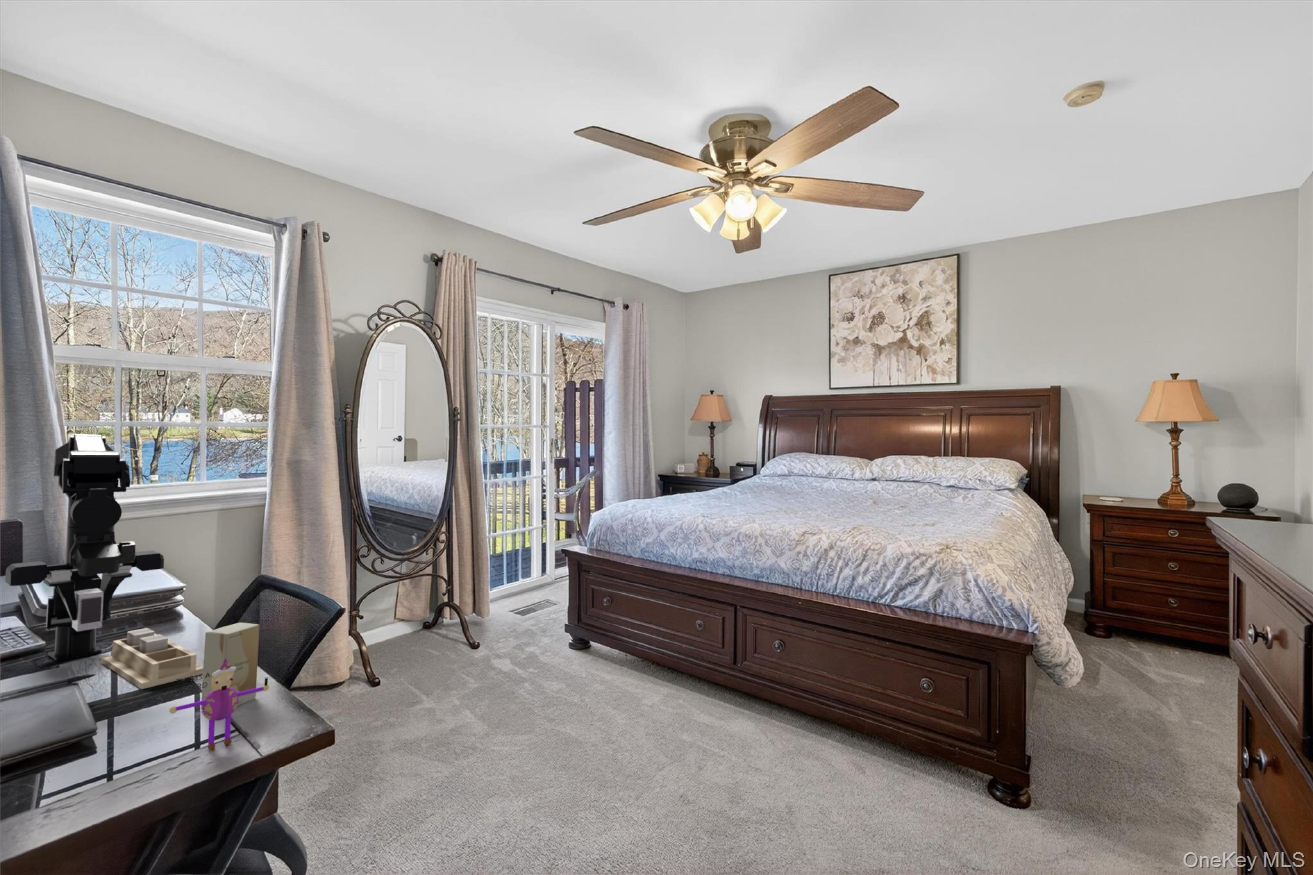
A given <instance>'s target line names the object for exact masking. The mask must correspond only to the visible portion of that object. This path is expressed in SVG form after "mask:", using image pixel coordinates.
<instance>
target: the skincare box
mask: <svg viewBox="0 0 1313 875" xmlns="http://www.w3.org/2000/svg"><path fill="white" fill-rule="evenodd" d="M204 634H205V635H204V648H203V649H204V650H203V654H204V655H203V665H202V666H203V674H202V681H201V684H202V683H203V687H205V686H206V683H207V686H206V687H205V688H202V687H201V700H200V701H203V700H204V699H205V698H206V696H207V695H208V694H209V693H210V692H211V691H213V689H212V687H211V680H212V678H213V677H212V674H213V673H214V672H216V671H217V670H219V669H220V668H221V666H222V664H223V662H224V660H225V658H226V660H227V662H228V663H229V665H230V667H236V670H235V671H234V674H233V676H232V678H233V680H232V681H231V684H230V686H229V687H231V688H233V689H234V690H235V691H236V692H237V693H238V692H243V691H247V690H251V689H255V688H257V682H258V680H257V679H258V659H259V658H258V657H259V642H260V641H259V640H260V638H259V637H260V624H259V623H258V624H257V623H249V622H237V623H233V624H229V625H226V626H222V627H219V628H216V629H211V630H210V631H209V630H208V631H206V632H205V633H204ZM207 673H209V675H210V677H209V676H208V675H207ZM206 675H207V677H206ZM205 677H206V678H205ZM204 682H206V683H204ZM255 697H256V698H257V692H255V693H251V694H247V695H243V696H239V697H238V698H239V700H238V705H237V707H238V706H240V705H241V706H242V705H243V704H245V703H248V702H250V701H252V700H255V699H256V698H255ZM200 710H201V711H202V705H200Z"/></svg>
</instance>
